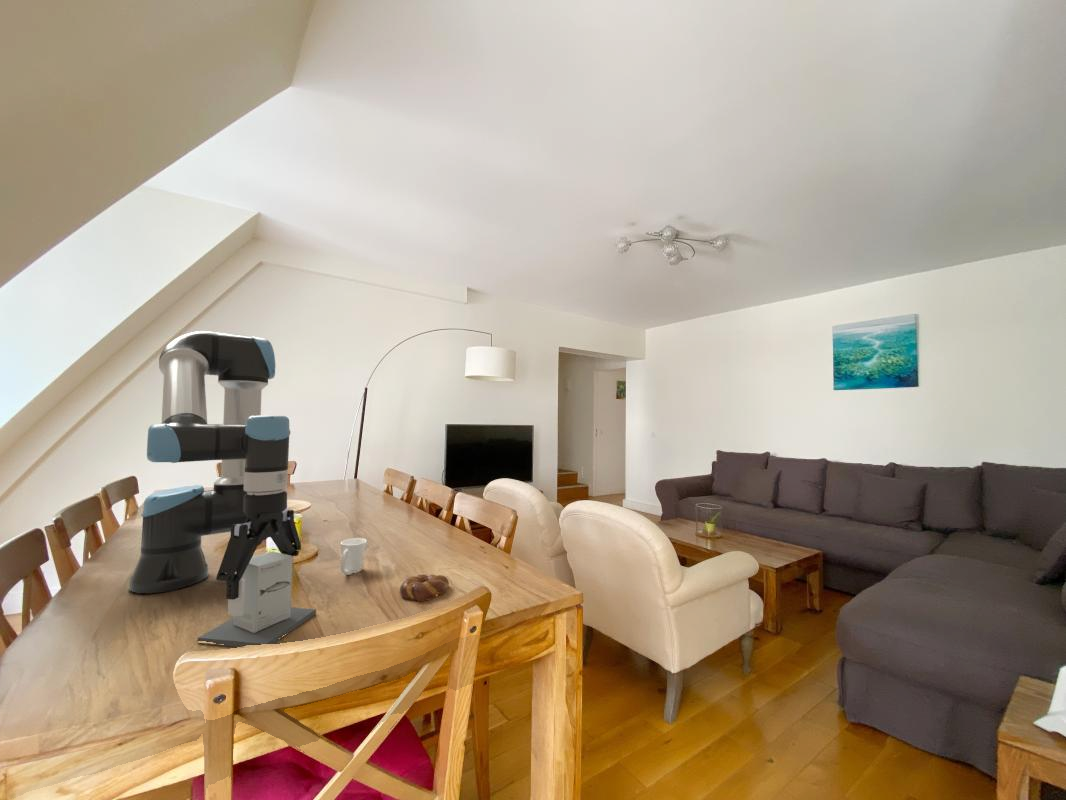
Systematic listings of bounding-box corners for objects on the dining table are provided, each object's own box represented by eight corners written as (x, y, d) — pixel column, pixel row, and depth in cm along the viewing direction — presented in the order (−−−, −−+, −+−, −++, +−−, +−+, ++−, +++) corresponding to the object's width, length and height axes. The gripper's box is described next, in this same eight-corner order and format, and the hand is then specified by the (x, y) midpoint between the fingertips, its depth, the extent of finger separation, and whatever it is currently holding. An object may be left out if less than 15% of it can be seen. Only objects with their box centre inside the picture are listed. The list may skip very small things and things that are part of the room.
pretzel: (440, 580, 110) (440, 566, 110) (456, 595, 101) (456, 580, 101) (393, 590, 103) (394, 574, 104) (406, 606, 94) (406, 590, 95)
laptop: (197, 643, 78) (197, 637, 78) (256, 609, 92) (257, 604, 92) (265, 649, 76) (265, 643, 76) (315, 613, 90) (315, 609, 90)
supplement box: (254, 634, 79) (256, 566, 80) (232, 625, 83) (234, 560, 83) (292, 618, 86) (294, 555, 86) (270, 610, 89) (272, 549, 90)
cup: (370, 566, 118) (371, 537, 119) (354, 580, 108) (355, 548, 109) (346, 566, 119) (347, 537, 119) (328, 580, 109) (329, 548, 109)
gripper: (232, 504, 73) (227, 632, 72) (320, 483, 97) (317, 578, 96) (194, 502, 74) (188, 628, 73) (291, 482, 98) (287, 576, 97)
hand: (261, 600), depth 84 cm, fingers open, 12 cm apart
